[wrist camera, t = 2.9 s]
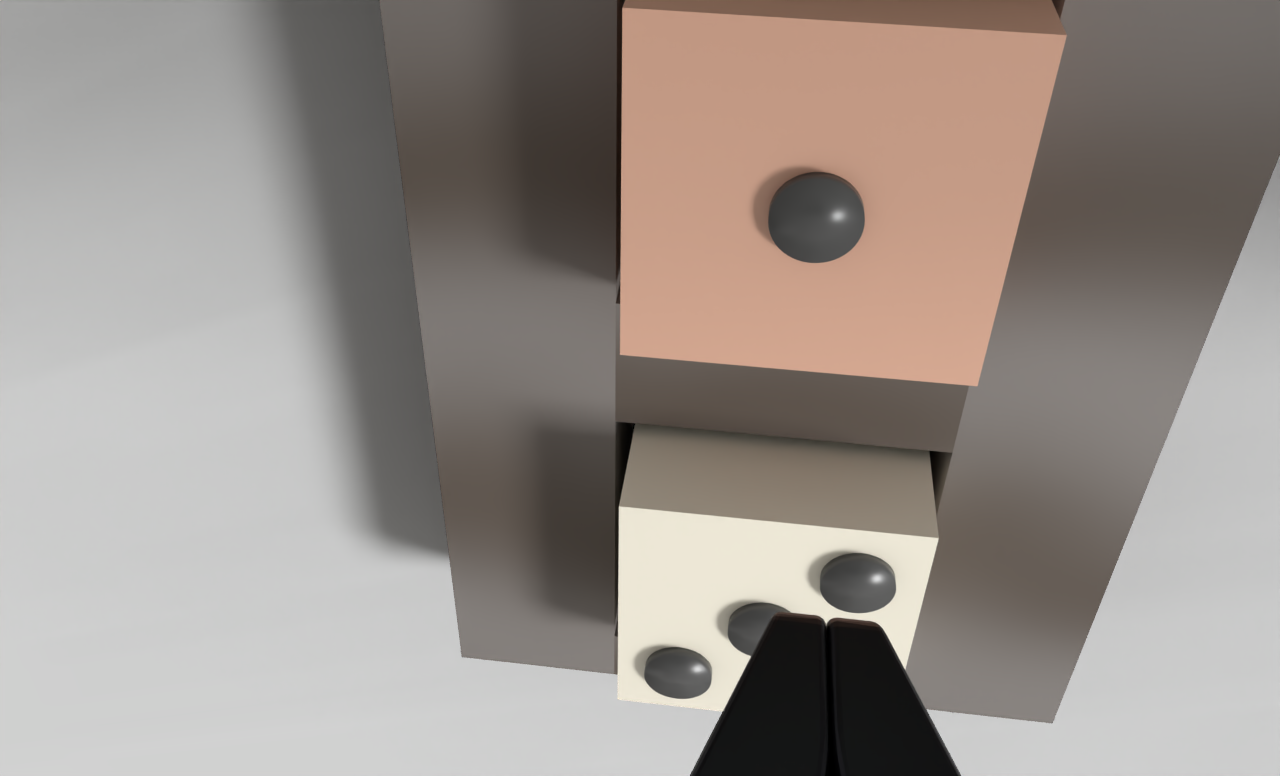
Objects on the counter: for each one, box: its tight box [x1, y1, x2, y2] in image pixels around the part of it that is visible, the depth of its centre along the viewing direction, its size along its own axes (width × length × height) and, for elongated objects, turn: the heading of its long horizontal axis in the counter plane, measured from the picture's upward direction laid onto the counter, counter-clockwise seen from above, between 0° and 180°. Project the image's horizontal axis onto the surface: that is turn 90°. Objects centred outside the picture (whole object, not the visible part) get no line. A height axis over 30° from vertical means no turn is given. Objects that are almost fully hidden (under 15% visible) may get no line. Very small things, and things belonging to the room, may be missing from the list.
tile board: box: [379, 0, 1280, 723], centre depth 17 cm, size 24×12×2 cm, turn 179°
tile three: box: [618, 423, 939, 712], centre depth 21 cm, size 5×5×3 cm
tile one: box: [620, 0, 1067, 386], centre depth 16 cm, size 5×5×3 cm
